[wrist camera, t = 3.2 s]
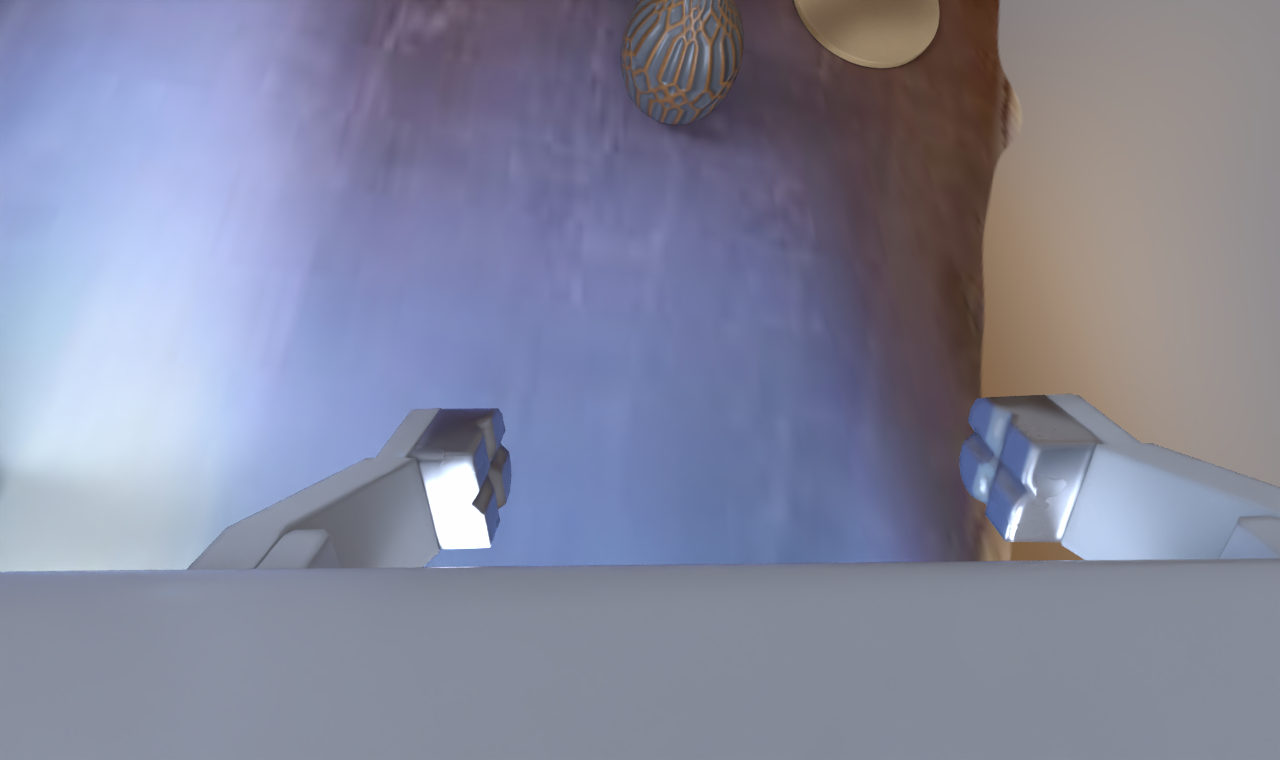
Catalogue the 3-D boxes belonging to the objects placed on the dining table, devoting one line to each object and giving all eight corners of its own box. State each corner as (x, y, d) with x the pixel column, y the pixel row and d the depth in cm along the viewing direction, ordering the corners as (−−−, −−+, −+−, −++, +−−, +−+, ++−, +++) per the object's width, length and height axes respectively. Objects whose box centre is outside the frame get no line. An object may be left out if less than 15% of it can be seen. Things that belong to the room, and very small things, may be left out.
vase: (630, 32, 39) (657, -100, 30) (730, 69, 40) (784, -50, 31) (600, 121, 37) (620, 7, 29) (706, 158, 38) (755, 57, 29)
